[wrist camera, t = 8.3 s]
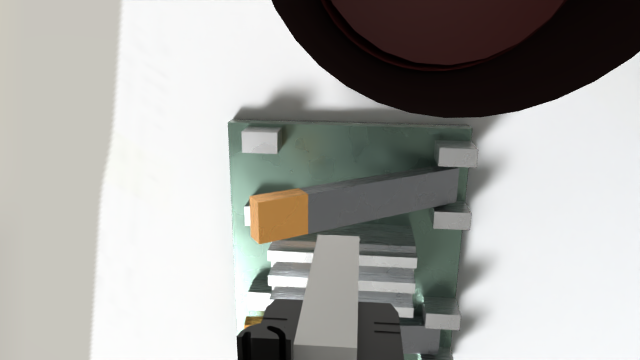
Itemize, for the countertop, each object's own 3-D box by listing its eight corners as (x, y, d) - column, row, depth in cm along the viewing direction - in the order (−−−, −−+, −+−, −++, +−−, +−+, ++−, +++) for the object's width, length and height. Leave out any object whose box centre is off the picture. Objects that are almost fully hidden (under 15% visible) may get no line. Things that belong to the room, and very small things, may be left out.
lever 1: (446, 163, 28) (459, 168, 28) (443, 197, 29) (456, 202, 28) (249, 196, 23) (257, 202, 22) (250, 236, 23) (259, 244, 22)
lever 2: (436, 316, 31) (440, 325, 30) (434, 344, 32) (438, 353, 31) (246, 316, 31) (244, 325, 30) (247, 343, 32) (245, 353, 31)
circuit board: (468, 125, 29) (488, 144, 24) (445, 359, 34) (458, 414, 29) (232, 119, 30) (206, 136, 25) (242, 346, 35) (222, 396, 30)
